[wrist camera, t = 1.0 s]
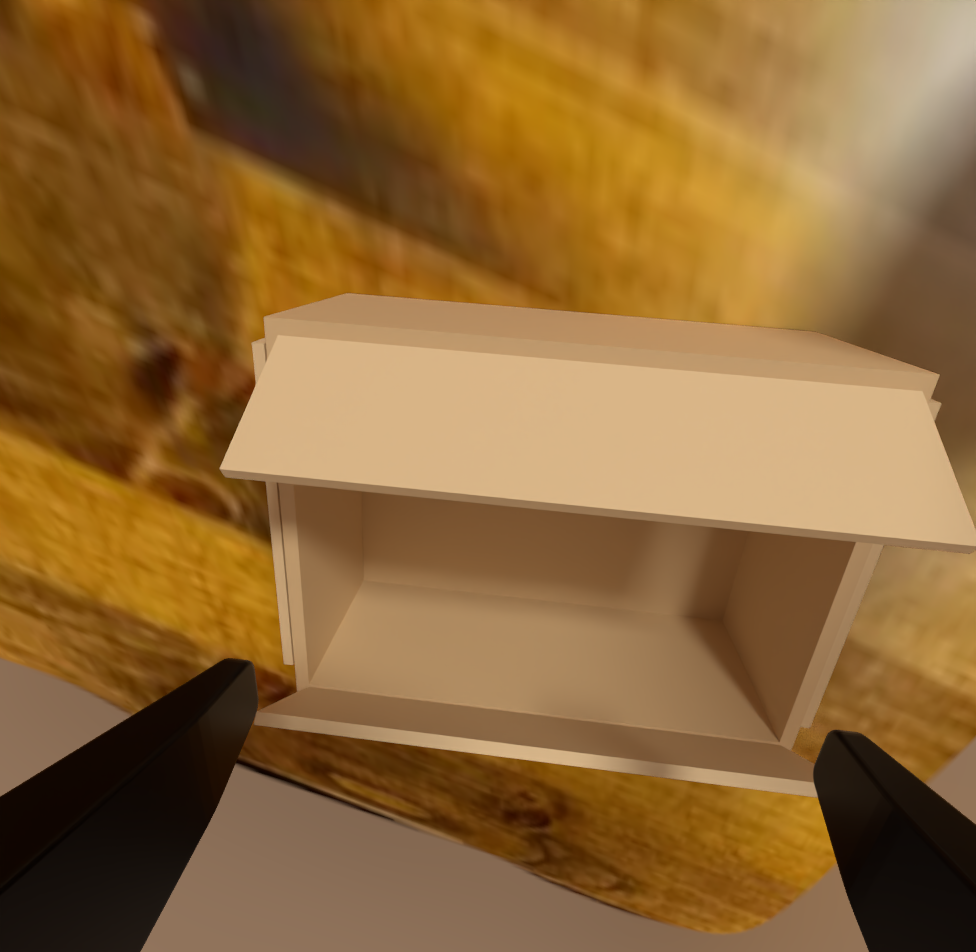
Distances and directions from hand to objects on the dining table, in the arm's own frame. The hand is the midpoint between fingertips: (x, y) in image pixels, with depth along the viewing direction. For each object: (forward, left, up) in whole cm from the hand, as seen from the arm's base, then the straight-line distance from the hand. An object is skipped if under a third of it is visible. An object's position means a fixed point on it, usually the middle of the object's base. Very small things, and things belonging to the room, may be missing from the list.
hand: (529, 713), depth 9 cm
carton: (-1, +1, -12) cm, 12 cm away
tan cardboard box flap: (-1, -3, -4) cm, 5 cm away
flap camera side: (-1, +5, -4) cm, 7 cm away
